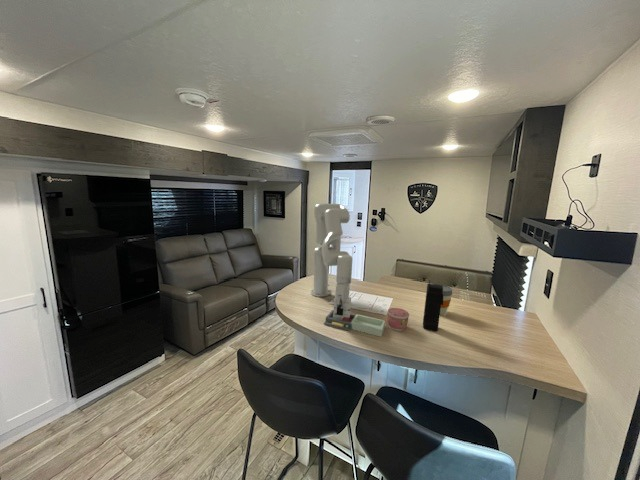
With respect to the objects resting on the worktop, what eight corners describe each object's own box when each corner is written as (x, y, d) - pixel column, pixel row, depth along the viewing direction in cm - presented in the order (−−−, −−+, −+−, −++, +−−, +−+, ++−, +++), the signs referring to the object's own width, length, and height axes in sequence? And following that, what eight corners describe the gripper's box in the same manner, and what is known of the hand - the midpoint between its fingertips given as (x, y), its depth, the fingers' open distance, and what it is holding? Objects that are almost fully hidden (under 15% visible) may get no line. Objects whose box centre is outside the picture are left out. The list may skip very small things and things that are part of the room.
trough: (356, 320, 134) (356, 314, 134) (384, 326, 128) (385, 320, 128) (350, 329, 125) (351, 322, 125) (381, 336, 119) (381, 329, 119)
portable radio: (438, 326, 131) (444, 280, 126) (440, 332, 125) (446, 284, 121) (422, 323, 133) (427, 278, 129) (423, 329, 128) (428, 281, 123)
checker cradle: (333, 313, 141) (333, 308, 141) (358, 318, 136) (358, 313, 135) (323, 324, 129) (324, 319, 128) (350, 331, 123) (350, 325, 123)
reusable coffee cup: (443, 319, 139) (447, 293, 137) (421, 310, 148) (424, 286, 146) (453, 312, 147) (456, 288, 145) (431, 305, 157) (434, 282, 154)
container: (385, 329, 126) (386, 314, 125) (387, 320, 136) (388, 306, 134) (407, 334, 122) (409, 318, 121) (407, 324, 132) (409, 309, 131)
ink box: (349, 318, 134) (351, 297, 132) (349, 322, 129) (351, 300, 128) (333, 316, 136) (335, 295, 134) (332, 320, 131) (334, 298, 129)
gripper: (342, 273, 138) (340, 304, 141) (330, 283, 122) (329, 317, 125) (355, 275, 135) (353, 307, 138) (345, 285, 119) (343, 321, 122)
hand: (341, 311), depth 131 cm, fingers open, 6 cm apart
